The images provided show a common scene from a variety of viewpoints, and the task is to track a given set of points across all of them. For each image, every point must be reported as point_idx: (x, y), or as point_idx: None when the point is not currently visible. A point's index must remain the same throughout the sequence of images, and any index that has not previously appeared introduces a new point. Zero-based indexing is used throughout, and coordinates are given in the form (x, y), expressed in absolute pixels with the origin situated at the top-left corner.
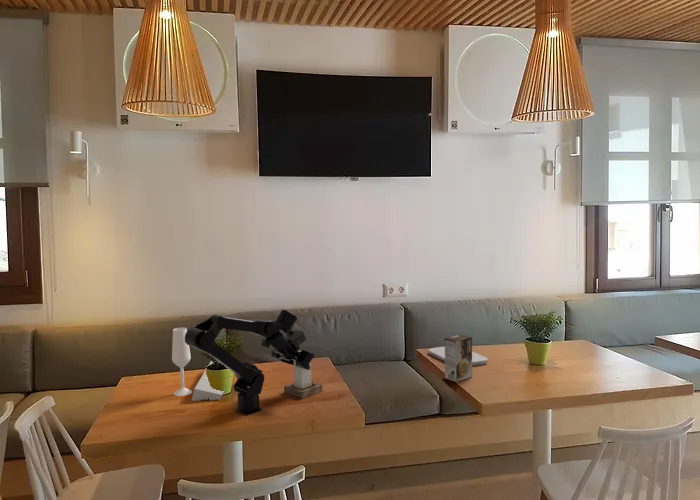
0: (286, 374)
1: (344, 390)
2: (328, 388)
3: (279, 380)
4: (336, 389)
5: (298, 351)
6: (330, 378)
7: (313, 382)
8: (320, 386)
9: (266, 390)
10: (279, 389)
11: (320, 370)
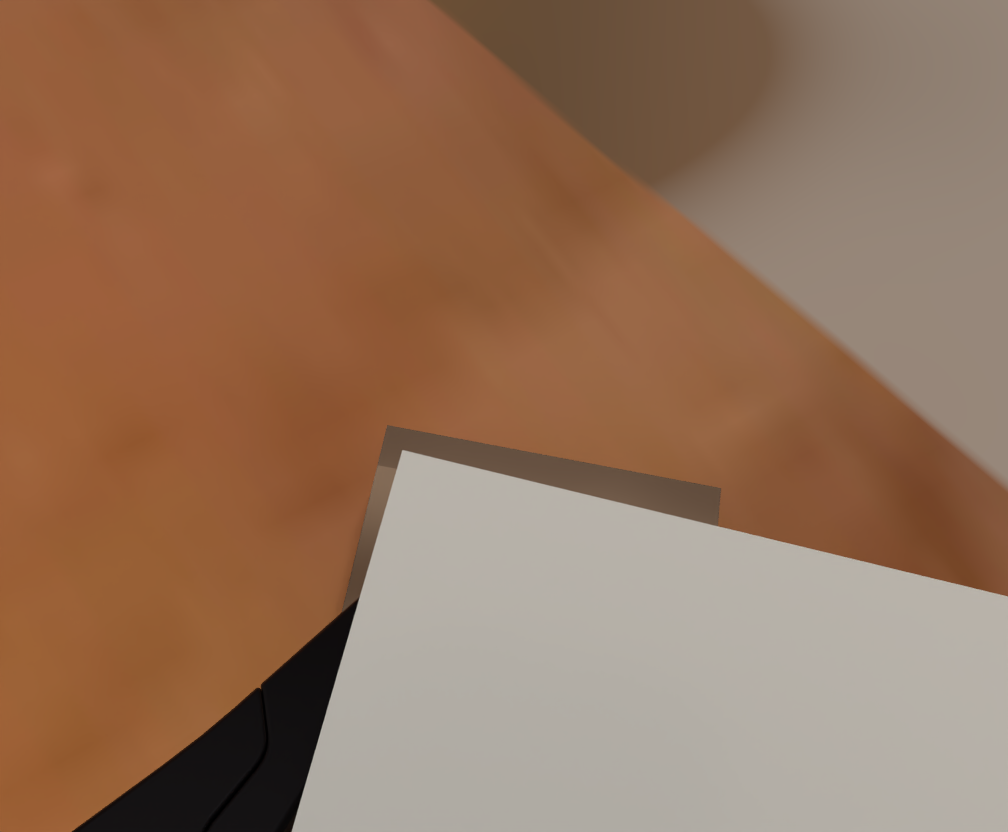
0: (2, 235)
1: (857, 361)
2: (683, 388)
3: (26, 431)
4: (771, 375)
5: (337, 827)
6: (514, 143)
7: (571, 469)
8: (712, 520)
9: (56, 820)
10: (199, 695)
11: (286, 5)
